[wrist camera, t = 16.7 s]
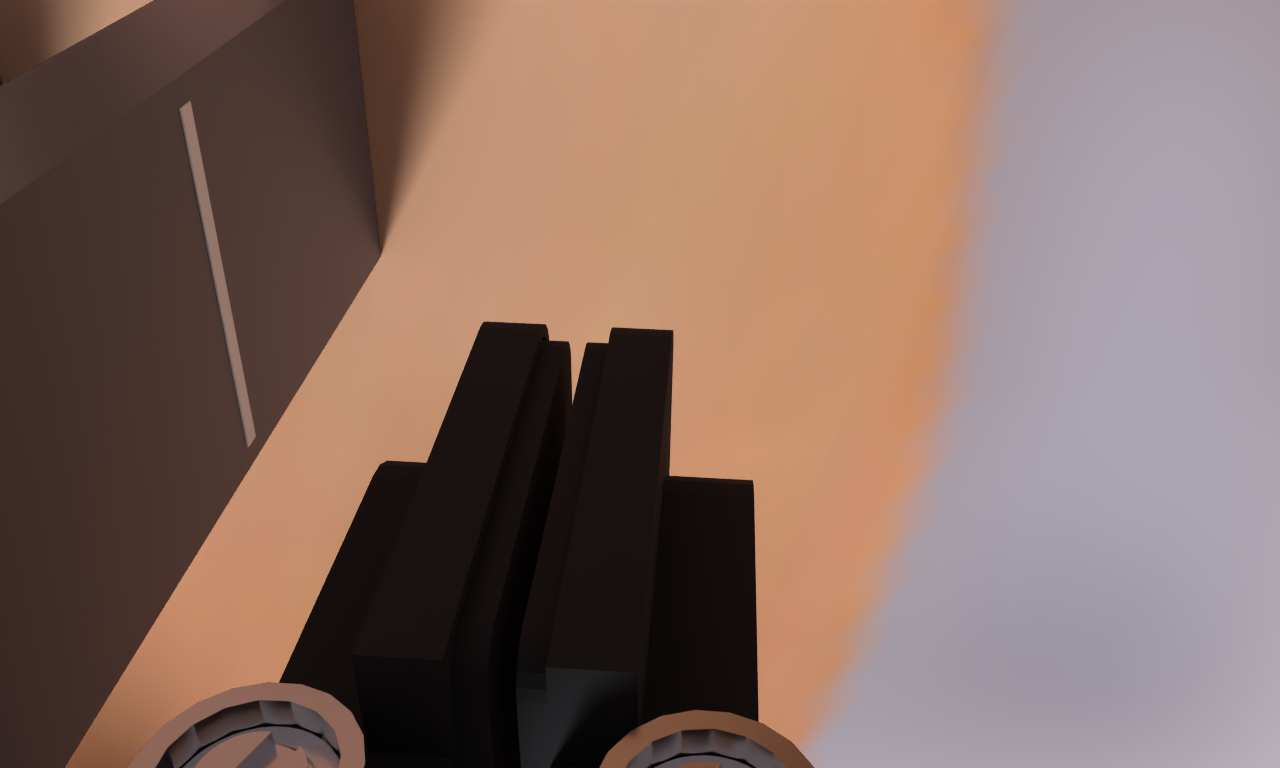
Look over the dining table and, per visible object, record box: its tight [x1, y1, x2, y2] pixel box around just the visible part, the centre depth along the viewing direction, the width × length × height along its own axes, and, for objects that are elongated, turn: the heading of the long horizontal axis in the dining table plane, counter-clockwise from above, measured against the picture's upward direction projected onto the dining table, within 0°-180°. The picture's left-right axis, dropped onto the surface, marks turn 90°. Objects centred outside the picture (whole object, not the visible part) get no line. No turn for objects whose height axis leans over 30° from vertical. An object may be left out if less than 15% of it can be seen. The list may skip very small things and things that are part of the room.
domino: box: [0, 0, 381, 768], centre depth 13 cm, size 2×5×12 cm, turn 179°
